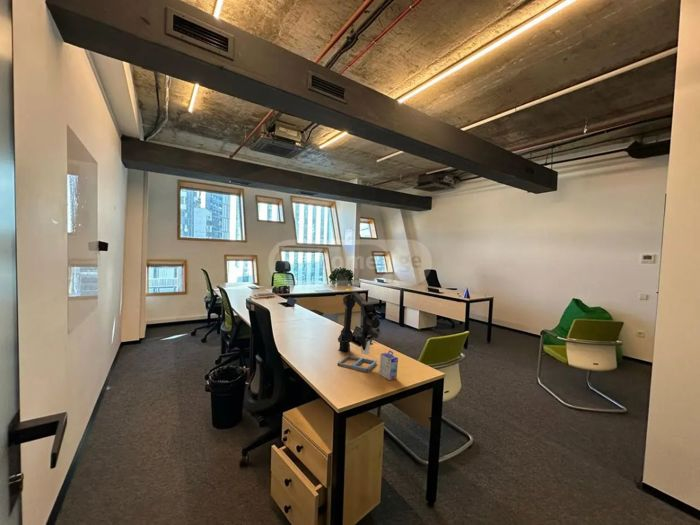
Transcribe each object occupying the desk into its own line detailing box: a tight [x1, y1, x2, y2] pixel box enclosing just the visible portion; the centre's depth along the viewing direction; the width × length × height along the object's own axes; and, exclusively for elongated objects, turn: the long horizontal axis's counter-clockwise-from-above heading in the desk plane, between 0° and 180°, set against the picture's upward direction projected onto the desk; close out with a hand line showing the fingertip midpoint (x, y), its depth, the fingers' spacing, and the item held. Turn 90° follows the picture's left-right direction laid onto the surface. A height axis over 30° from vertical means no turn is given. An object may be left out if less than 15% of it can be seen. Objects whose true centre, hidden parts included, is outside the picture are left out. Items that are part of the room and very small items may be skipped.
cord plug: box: [360, 339, 371, 355], centre depth 179 cm, size 4×4×8 cm
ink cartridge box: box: [378, 349, 399, 381], centre depth 167 cm, size 10×6×14 cm, turn 33°
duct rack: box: [337, 354, 378, 373], centre depth 182 cm, size 20×15×2 cm
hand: (365, 348), depth 179 cm, fingers closed on cord plug, 4 cm apart
